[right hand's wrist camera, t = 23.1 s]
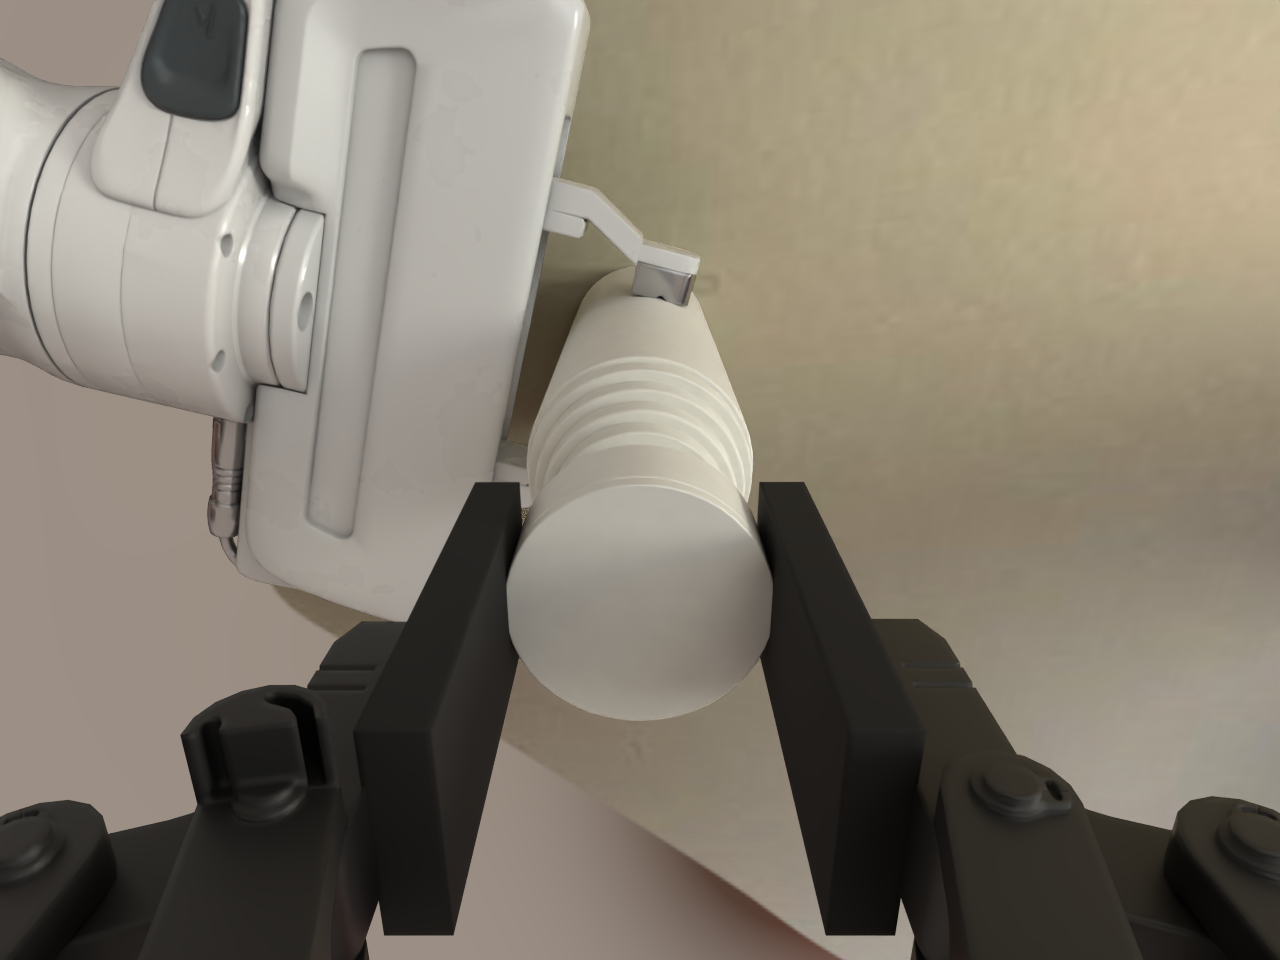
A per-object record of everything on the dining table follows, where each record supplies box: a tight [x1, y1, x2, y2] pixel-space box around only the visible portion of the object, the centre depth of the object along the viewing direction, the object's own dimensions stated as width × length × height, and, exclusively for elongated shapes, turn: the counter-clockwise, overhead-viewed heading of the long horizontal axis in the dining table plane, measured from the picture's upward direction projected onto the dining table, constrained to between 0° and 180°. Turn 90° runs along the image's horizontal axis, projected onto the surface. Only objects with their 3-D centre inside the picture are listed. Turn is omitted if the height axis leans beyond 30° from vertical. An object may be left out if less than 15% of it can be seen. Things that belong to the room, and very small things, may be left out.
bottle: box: [527, 266, 753, 503], centre depth 23 cm, size 5×5×20 cm
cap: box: [506, 445, 773, 721], centre depth 14 cm, size 4×4×2 cm
